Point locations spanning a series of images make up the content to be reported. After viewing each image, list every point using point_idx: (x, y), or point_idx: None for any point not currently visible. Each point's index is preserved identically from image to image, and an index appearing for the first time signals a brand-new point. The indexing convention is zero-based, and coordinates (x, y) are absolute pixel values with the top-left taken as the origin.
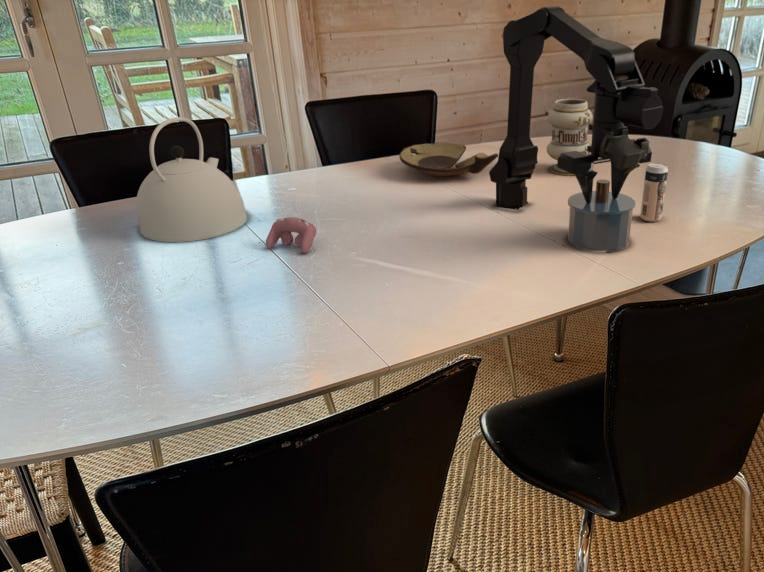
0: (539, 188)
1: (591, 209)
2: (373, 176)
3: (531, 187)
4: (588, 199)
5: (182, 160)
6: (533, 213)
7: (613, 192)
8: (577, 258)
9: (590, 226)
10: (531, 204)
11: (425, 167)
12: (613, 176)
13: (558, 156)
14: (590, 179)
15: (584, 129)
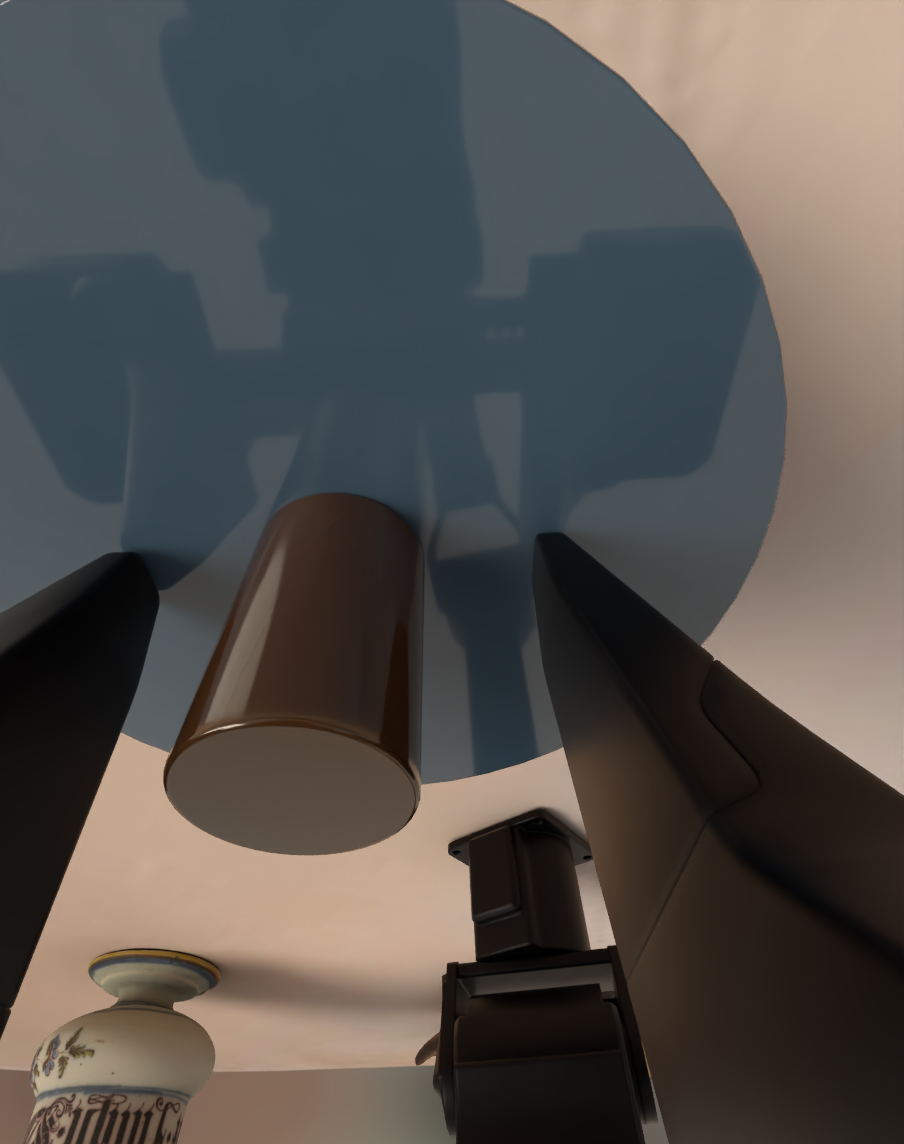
0: (324, 910)
1: (681, 337)
2: None
3: (347, 919)
4: (592, 563)
5: None
6: (484, 782)
7: (126, 636)
8: (751, 107)
9: None
10: (435, 837)
11: (641, 1040)
12: (18, 881)
13: (188, 1038)
14: (840, 844)
15: None
